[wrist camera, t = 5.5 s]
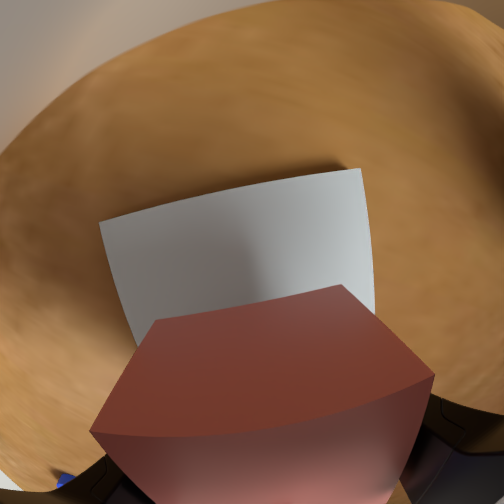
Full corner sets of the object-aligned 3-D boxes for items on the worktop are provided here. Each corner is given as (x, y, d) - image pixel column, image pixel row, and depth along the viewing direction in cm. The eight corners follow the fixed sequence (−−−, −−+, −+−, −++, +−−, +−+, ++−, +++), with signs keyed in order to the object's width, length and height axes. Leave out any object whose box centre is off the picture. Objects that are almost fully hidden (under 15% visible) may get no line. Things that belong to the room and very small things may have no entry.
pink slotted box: (341, 284, 9) (440, 380, 3) (345, 412, 10) (388, 507, 5) (155, 319, 9) (85, 437, 3) (206, 438, 10) (196, 539, 5)
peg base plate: (350, 170, 12) (402, 160, 8) (364, 395, 15) (391, 443, 10) (109, 220, 12) (54, 233, 7) (187, 428, 15) (177, 482, 10)
